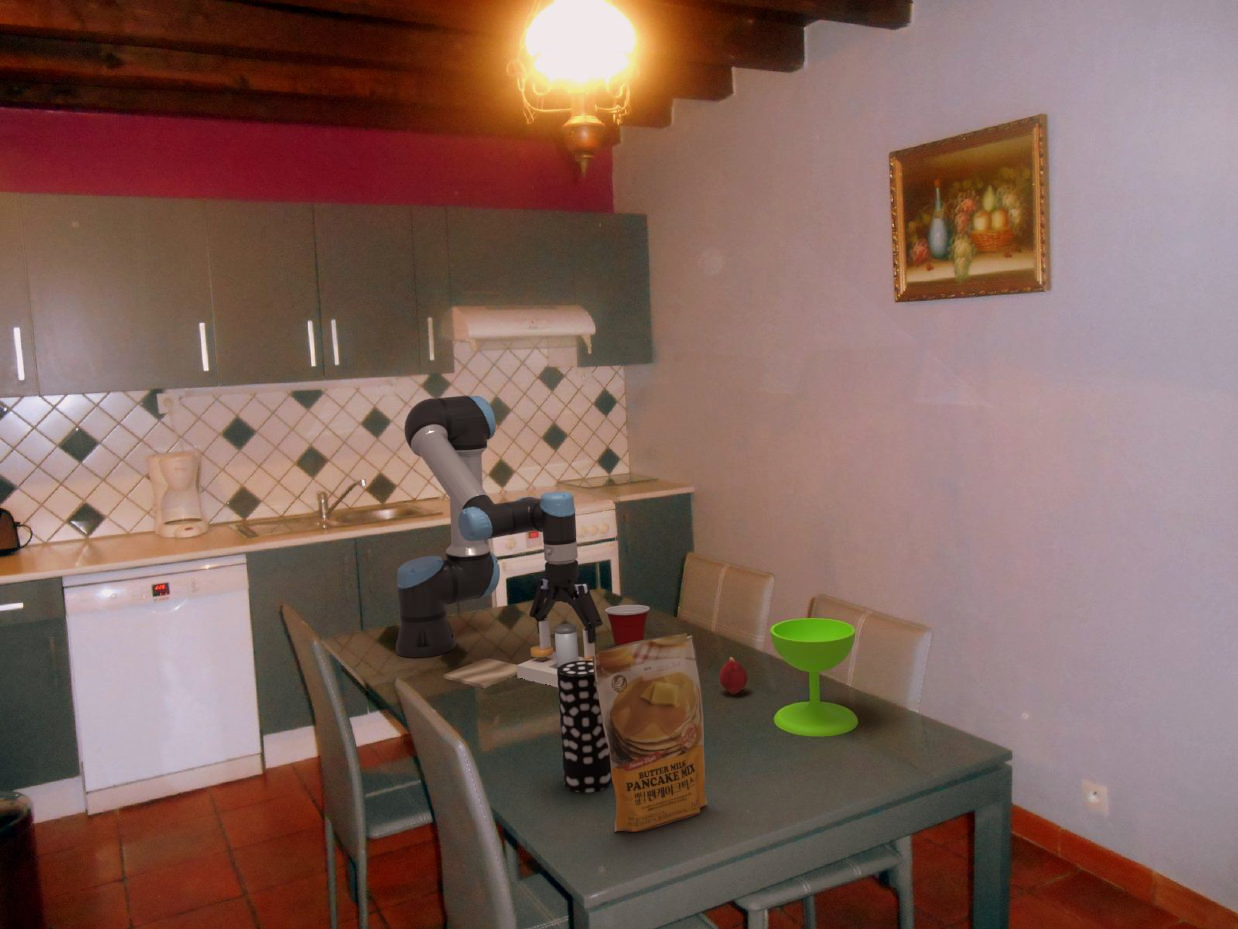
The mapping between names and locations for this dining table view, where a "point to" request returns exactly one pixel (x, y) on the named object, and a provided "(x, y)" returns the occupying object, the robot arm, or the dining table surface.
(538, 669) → the block
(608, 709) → the pancake mix bag
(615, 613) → the plastic cup
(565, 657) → the cylinder
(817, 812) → the dining table surface
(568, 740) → the white-spotted black cylinder
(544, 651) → the plunger left
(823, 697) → the dining table surface
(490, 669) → the board
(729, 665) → the onion
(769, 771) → the dining table surface
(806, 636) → the wineglass
